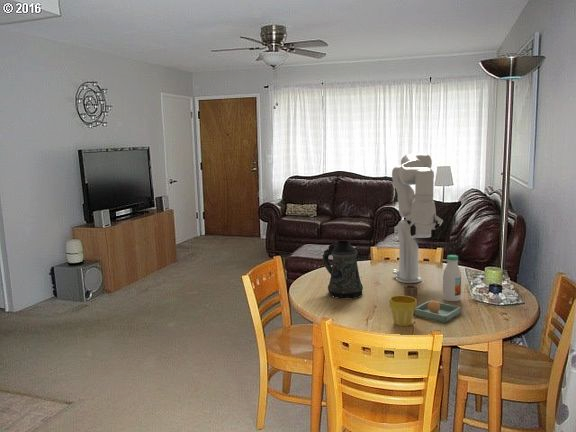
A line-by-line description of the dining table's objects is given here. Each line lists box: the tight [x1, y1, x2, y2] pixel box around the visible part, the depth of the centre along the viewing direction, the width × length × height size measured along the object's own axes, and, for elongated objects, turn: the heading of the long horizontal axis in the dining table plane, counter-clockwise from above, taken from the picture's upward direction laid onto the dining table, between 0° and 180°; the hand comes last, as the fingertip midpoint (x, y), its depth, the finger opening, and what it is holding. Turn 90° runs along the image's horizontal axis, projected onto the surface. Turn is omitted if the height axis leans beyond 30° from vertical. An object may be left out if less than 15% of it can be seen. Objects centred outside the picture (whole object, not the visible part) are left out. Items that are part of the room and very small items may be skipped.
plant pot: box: [388, 294, 418, 327], centre depth 188 cm, size 10×10×10 cm
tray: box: [413, 299, 462, 324], centre depth 197 cm, size 14×14×3 cm
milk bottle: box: [442, 254, 462, 302], centre depth 214 cm, size 8×8×20 cm
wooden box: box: [403, 284, 418, 301], centre depth 213 cm, size 4×4×7 cm
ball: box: [428, 299, 440, 313], centre depth 198 cm, size 5×5×5 cm
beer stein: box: [322, 240, 364, 299], centre depth 226 cm, size 16×19×25 cm
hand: (423, 236), depth 211 cm, fingers open, 9 cm apart
